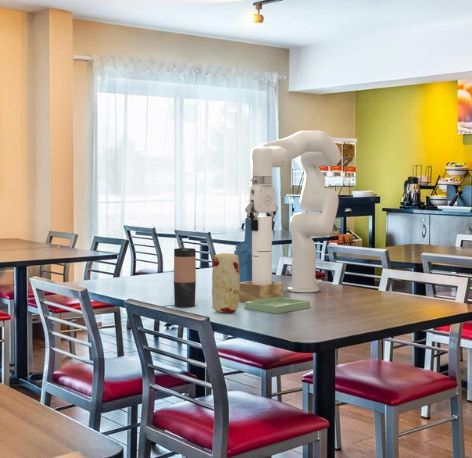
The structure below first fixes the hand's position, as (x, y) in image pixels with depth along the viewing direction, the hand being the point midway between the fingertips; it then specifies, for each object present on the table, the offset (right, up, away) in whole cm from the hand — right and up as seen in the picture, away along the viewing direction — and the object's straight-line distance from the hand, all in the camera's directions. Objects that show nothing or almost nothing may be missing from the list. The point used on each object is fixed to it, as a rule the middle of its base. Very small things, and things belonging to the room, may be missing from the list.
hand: (261, 229), depth 284 cm
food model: (-12, -28, -22) cm, 38 cm away
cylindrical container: (0, -20, +2) cm, 20 cm away
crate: (0, -26, +1) cm, 26 cm away
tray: (+6, -27, -13) cm, 30 cm away
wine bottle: (-6, -24, +45) cm, 51 cm away
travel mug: (-27, -27, -9) cm, 39 cm away
